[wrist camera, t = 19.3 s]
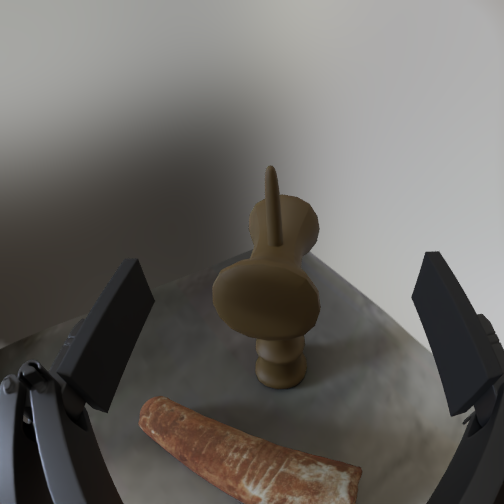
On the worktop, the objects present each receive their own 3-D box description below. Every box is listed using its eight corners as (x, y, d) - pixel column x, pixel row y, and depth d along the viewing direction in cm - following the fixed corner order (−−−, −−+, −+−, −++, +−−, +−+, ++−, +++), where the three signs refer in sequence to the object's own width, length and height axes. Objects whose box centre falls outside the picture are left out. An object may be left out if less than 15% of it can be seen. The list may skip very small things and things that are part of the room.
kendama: (240, 408, 23) (184, 203, 12) (260, 331, 31) (239, 146, 20) (306, 415, 22) (328, 203, 11) (314, 335, 29) (323, 145, 18)
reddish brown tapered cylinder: (324, 537, 12) (337, 543, 9) (138, 433, 21) (110, 409, 18) (360, 476, 16) (380, 462, 13) (177, 389, 25) (158, 359, 22)
